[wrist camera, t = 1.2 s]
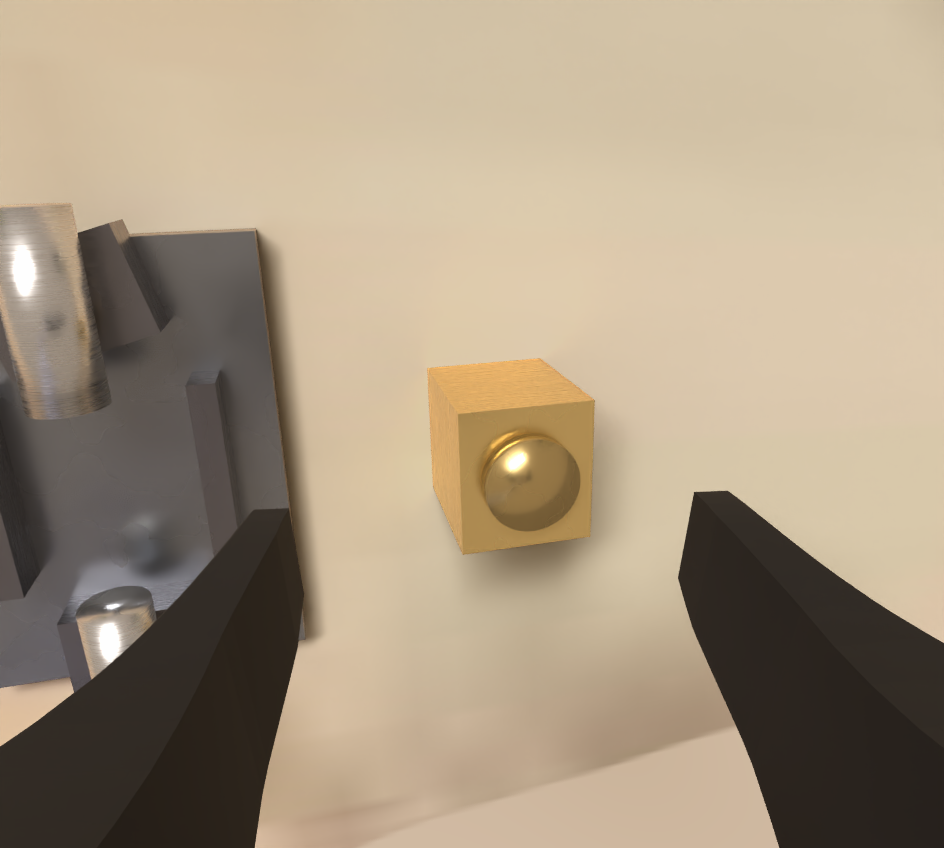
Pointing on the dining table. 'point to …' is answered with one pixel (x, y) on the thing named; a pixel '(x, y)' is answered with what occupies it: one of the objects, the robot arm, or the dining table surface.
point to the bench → (123, 429)
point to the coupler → (511, 453)
